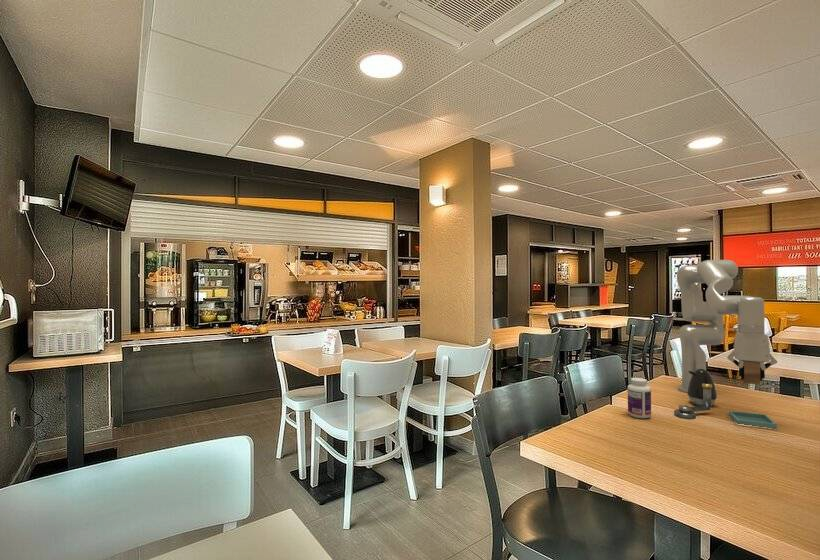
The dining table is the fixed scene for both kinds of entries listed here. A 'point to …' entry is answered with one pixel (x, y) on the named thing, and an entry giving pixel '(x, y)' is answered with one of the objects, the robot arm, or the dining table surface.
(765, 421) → the tray
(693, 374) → the black tapered rounded piece
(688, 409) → the crank
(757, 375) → the block
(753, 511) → the dining table surface
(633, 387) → the pill bottle
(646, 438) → the dining table surface
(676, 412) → the crank base
